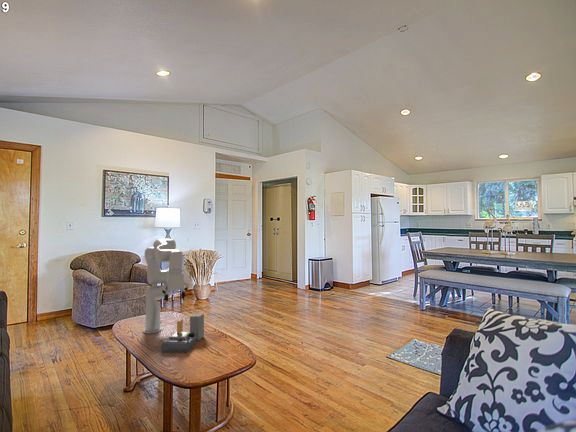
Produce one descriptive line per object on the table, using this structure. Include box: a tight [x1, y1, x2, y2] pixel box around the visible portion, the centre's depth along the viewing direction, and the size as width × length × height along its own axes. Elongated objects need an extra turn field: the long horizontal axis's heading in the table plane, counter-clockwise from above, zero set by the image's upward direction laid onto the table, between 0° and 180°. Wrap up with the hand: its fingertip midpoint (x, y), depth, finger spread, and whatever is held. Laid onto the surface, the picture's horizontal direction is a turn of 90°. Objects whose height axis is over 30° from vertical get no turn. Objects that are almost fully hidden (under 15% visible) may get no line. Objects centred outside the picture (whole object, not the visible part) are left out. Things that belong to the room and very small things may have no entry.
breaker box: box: [160, 331, 197, 354], centre depth 188 cm, size 16×16×8 cm
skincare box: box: [189, 313, 205, 342], centre depth 203 cm, size 8×7×16 cm
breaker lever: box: [176, 318, 184, 335], centre depth 189 cm, size 5×2×8 cm, turn 178°
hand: (174, 299), depth 182 cm, fingers open, 9 cm apart
